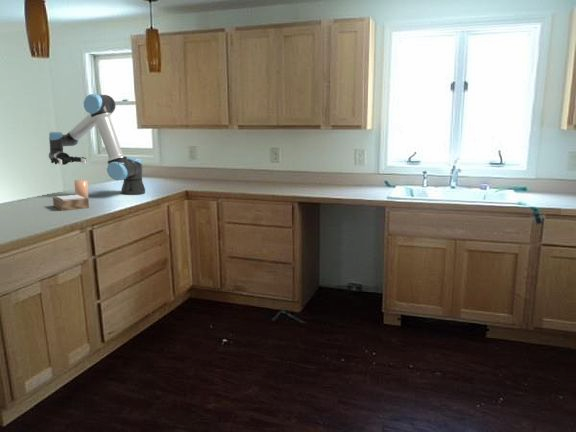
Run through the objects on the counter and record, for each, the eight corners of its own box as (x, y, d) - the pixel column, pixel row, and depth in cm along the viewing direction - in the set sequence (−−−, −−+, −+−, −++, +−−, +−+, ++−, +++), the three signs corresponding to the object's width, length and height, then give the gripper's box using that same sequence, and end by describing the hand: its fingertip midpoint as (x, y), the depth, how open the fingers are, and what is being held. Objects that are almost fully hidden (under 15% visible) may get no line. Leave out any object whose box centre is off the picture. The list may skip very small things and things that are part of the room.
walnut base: (79, 203, 263) (79, 194, 262) (88, 207, 253) (88, 197, 252) (53, 206, 253) (52, 196, 252) (61, 210, 243) (61, 200, 242)
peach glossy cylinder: (86, 199, 276) (84, 179, 273) (90, 201, 271) (89, 181, 268) (73, 200, 271) (72, 180, 269) (78, 202, 266) (76, 181, 264)
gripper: (82, 163, 298) (95, 167, 283) (40, 164, 281) (51, 168, 266) (82, 151, 296) (94, 154, 281) (39, 152, 279) (50, 155, 264)
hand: (73, 161), depth 273 cm, fingers open, 13 cm apart
